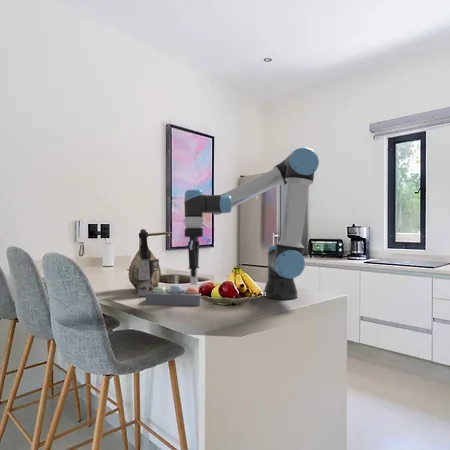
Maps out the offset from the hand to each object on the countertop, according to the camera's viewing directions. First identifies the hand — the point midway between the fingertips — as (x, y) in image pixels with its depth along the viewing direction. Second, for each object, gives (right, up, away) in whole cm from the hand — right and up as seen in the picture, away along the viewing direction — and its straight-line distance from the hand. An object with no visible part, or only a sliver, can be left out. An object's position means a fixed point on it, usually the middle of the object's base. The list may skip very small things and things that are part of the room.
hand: (193, 284), depth 146 cm
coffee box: (-22, -8, +15) cm, 28 cm away
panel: (-8, -7, +1) cm, 10 cm away
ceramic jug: (-26, -8, +26) cm, 37 cm away
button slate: (-7, -5, +1) cm, 9 cm away
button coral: (-1, -6, 0) cm, 6 cm away
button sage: (-14, -6, +1) cm, 16 cm away
